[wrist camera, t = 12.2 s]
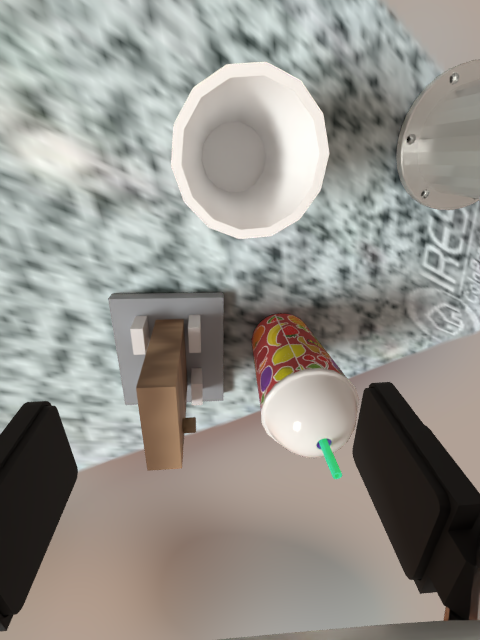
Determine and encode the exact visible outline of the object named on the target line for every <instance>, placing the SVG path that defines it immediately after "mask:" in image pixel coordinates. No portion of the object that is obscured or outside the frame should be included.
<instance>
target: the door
mask: <svg viewBox="0 0 480 640" xmlns="http://www.w3.org/2000/svg"><path fill="white" fill-rule="evenodd" d="M187 386H188V385H187V367H186V350H185V332H184V319H163V320H156V321H155V324H154V328H153V331H152V335H151V338H150V342H149V345H148V348H147V352H146V355H145V359H144V362H143V366H142V369H141V373H140V376H139V379H138V383H137V386H136V392H137V399H138V407H139V414H140V421H141V428H142V435H143V442H144V449H145V456H146V463H147V469H148V470H162V469H178V468H182V459H183V444H184V433H195V432H196V417H193V418H185V415H186V401H187Z"/></svg>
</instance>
